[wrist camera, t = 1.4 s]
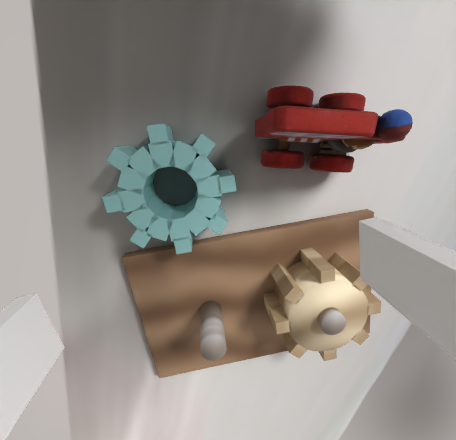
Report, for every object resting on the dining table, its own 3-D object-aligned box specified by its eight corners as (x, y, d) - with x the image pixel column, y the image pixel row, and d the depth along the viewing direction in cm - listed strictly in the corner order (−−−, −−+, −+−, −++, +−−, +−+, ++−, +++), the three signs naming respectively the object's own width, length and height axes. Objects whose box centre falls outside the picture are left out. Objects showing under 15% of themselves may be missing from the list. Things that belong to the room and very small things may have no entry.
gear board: (125, 253, 28) (100, 290, 21) (366, 209, 29) (418, 229, 22) (160, 369, 33) (150, 429, 26) (363, 326, 35) (404, 372, 28)
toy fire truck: (352, 170, 28) (437, 186, 18) (242, 163, 26) (269, 176, 16) (367, 102, 26) (472, 78, 16) (249, 90, 24) (284, 54, 14)
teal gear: (105, 136, 24) (82, 135, 19) (220, 119, 25) (225, 113, 20) (135, 243, 27) (122, 264, 23) (235, 225, 28) (243, 241, 23)
